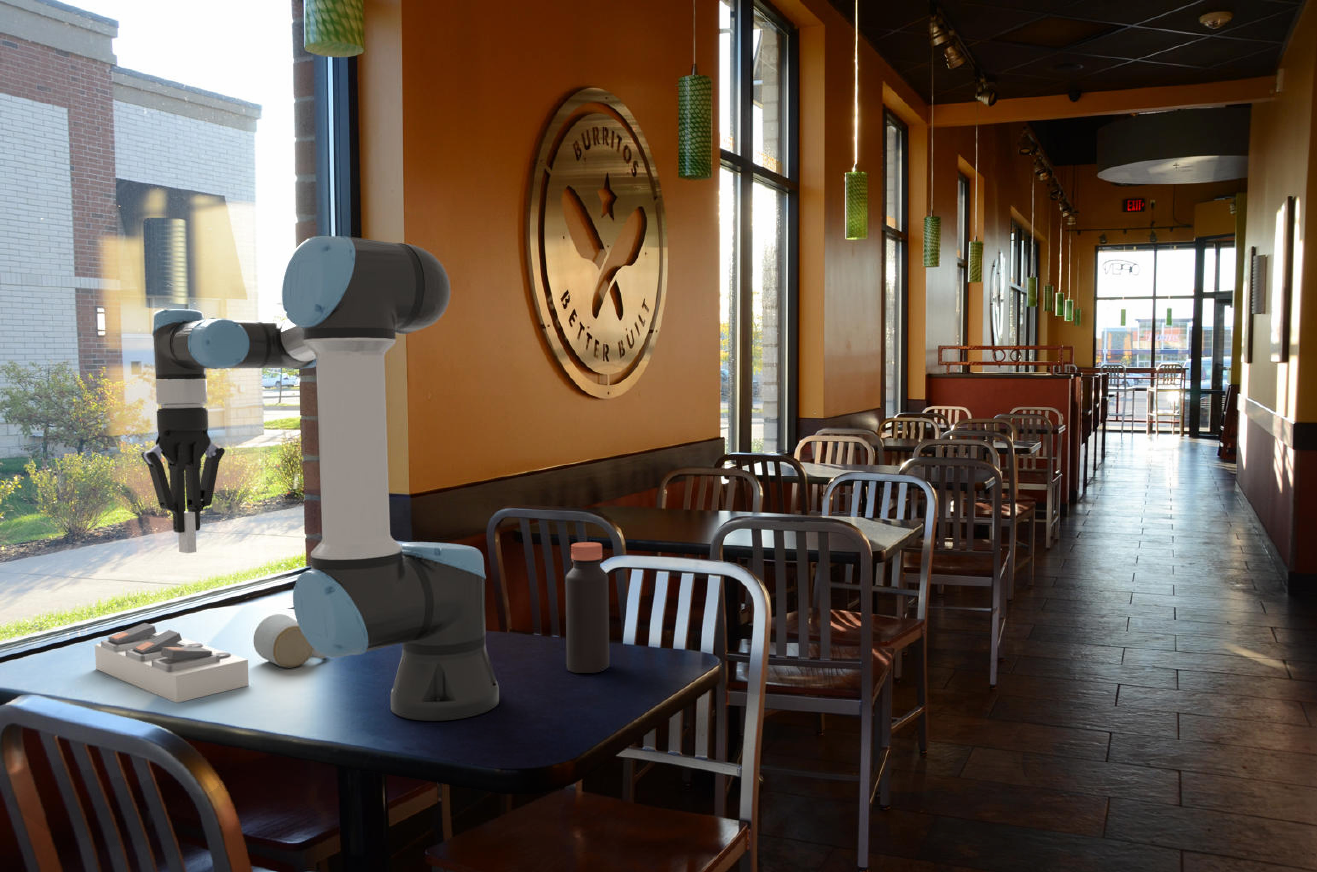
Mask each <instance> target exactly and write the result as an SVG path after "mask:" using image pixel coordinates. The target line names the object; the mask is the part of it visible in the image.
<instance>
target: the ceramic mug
mask: <svg viewBox="0 0 1317 872" xmlns="http://www.w3.org/2000/svg"><path fill="white" fill-rule="evenodd" d="M253 647H254V649H255V651H256V653H257V654H258V655H259V657H261V658H262V659H264V660H267V661H269V662H271V663H273V664H275V665H277V666H278V667H281V668H285V669H286V668H287V669H292V668H297V667H299V666H301V665H303V664H305V663H306V662H307V661H308V660H309V659H310V657H313V658H318V659H323V660H324V659H325V658H326V656H325V655H322V654H321V653H319V652H318V651H316V650H315V649H314V648H313V647H312V646H311V645H310V644H309V643H308V641H307V639H306V638H305V636H304V635H303V633H302V632H301V629H300V627H299V625H298V622H297V620H296V619H293V618H292V617H291V616H289V615H286V614H283V613H280V614H279V613H277V614H272V615H269V616H267V617H266V618H264V619H263V620H261V622H259V623H258V626H256V629H255V631H254V634H253Z"/></svg>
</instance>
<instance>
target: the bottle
mask: <svg viewBox="0 0 1317 872" xmlns="http://www.w3.org/2000/svg"><path fill="white" fill-rule="evenodd" d="M570 550H571V551H570V557H571V562H572V563H573V566H572V568H571V569H570V570H569V571H568V573H567V574H566V576H565V625H566V627H565V630H566V631H565V634H566V637H565V639H566V669H567V671H569V672H570V671H571V672H570V673H573V672H574V673H573V674H577V673H594V672H599V671H602V670H604V669H606V668H608V667H609V668H610V612H609V611H610V610H609V609H610V607H609V605H610V604H609V603H610V601H609V598H610V597H609V593H610V591H609V576H608V573H607V572H606V571H605V570H604V569H603V567H601V563H602V561H603V544H602V543H600V542H595V541H593V542H591V541H589V542H588V541H586V542H583V541H582V542H575V543H572V544H571V545H570ZM609 668H608V669H609Z"/></svg>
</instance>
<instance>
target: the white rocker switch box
mask: <svg viewBox="0 0 1317 872" xmlns="http://www.w3.org/2000/svg"><path fill="white" fill-rule="evenodd" d="M164 632H165V631H161V632H156V633H155V634H152V635H150V636H147V637H145V638H142V639H140V640H137V641H135V642H132V643H127V644H122V645H115V644H113V643H110V642H109V640H108V639H105V640H101V641H100V643H96V644H94V647H95V648H94V650H95V651H94V652H95V655H94V656H95V670H98V671H100V672H102V673H105V674H107V675H109V676H112V677H114V678H116V679H119V680H121V681H124V682H126V683H128V684H130V685H133V686H135V687H138V688H141V689H142V690H145V691H147V692H150V693H152V694H155V695H156V696H158V697H161V698H164V699H166V700H169V701H172V702H174V703H176V704H177V703H181V702H185V701H190V700H194V699H197V698H203V697H207V696H211V695H214V694H218V693H223V692H227V691H232V690H235V689H239V688H244V687H247V686H249V683H250V682H249V659H248V658H244V657H242V656H239V655H235V654H232V653H230V652H227V651H223V650H220V649H217V648H214V647H212V646H209V645H205V644H202V643H199V642H196V641H193V640H190V639H187V638H184V637H181V639H182V640H181V641H179V642H177V643H175V644H173V645H171V646H169V647H201V648H204V649H207V650H210V651H212V655H211V656H210V657H205V658H201V659H170V658H167V657H164V656H161V651H159V652H154V653H149V654H144V655H142V654H139V653H137V652H134V651H133V649H132V648H134V647H136V646H138V645H140V644H142V643H144V642H146V641H148V640H150V639H152V638H154V637H156V636H158V635H160V634H162V633H164Z"/></svg>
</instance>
